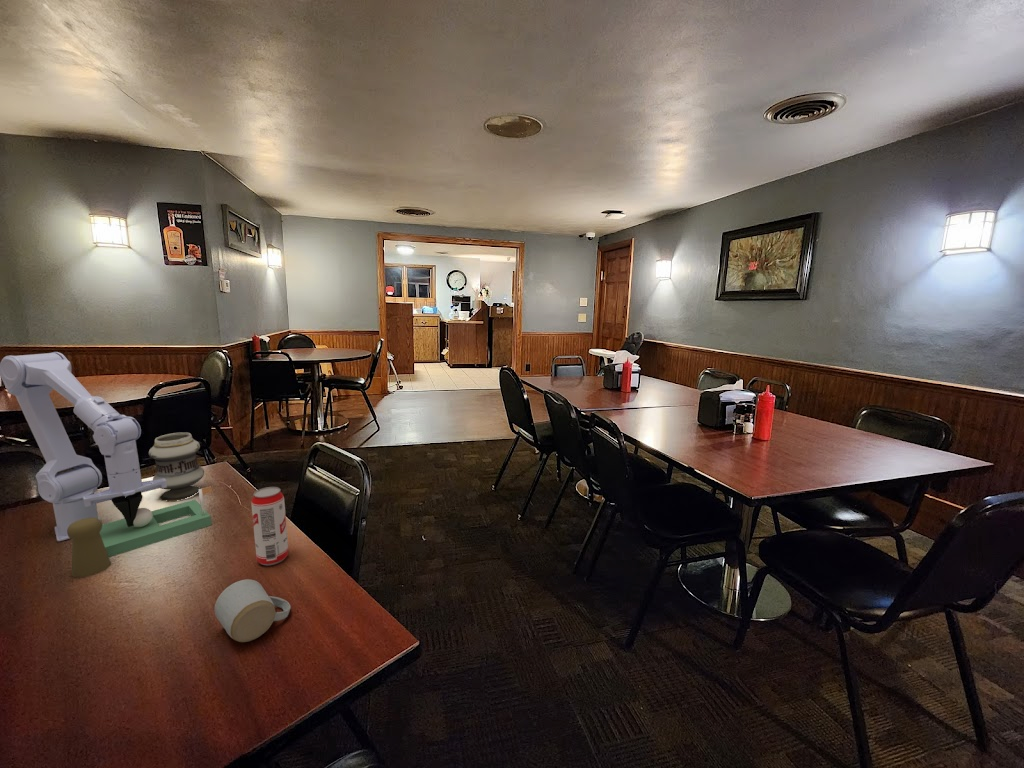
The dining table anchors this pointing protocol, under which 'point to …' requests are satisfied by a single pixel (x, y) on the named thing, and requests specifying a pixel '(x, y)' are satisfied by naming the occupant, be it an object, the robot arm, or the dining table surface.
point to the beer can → (269, 526)
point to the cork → (87, 548)
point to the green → (153, 528)
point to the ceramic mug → (248, 610)
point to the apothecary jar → (177, 464)
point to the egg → (142, 517)
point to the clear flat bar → (201, 493)
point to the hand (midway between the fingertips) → (132, 524)
